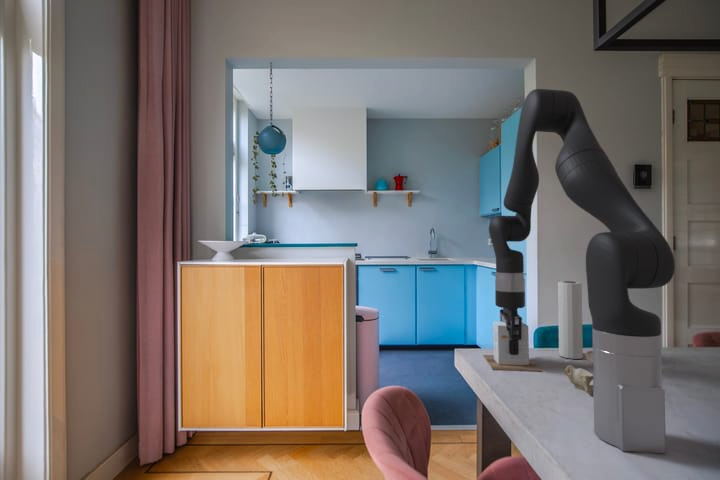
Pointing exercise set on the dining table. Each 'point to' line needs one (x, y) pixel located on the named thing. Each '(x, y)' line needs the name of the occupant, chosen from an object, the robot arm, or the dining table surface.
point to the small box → (502, 345)
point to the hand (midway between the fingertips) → (510, 351)
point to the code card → (496, 366)
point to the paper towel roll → (570, 319)
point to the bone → (581, 375)
